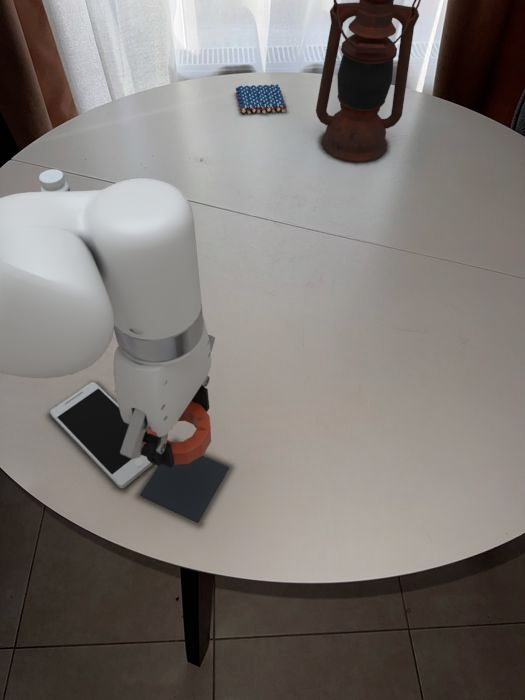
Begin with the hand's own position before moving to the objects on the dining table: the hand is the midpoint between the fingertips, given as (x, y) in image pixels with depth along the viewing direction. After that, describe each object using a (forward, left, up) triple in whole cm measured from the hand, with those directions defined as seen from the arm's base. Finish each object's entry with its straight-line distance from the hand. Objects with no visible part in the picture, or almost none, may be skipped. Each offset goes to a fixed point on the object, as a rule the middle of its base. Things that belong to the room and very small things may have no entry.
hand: (178, 431), depth 63 cm
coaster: (0, 0, -11) cm, 11 cm away
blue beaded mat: (+90, +32, -12) cm, 96 cm away
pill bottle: (+36, +46, -12) cm, 60 cm away
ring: (0, 0, -1) cm, 1 cm away
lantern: (+83, +7, -12) cm, 84 cm away
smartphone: (+1, +13, -11) cm, 17 cm away
